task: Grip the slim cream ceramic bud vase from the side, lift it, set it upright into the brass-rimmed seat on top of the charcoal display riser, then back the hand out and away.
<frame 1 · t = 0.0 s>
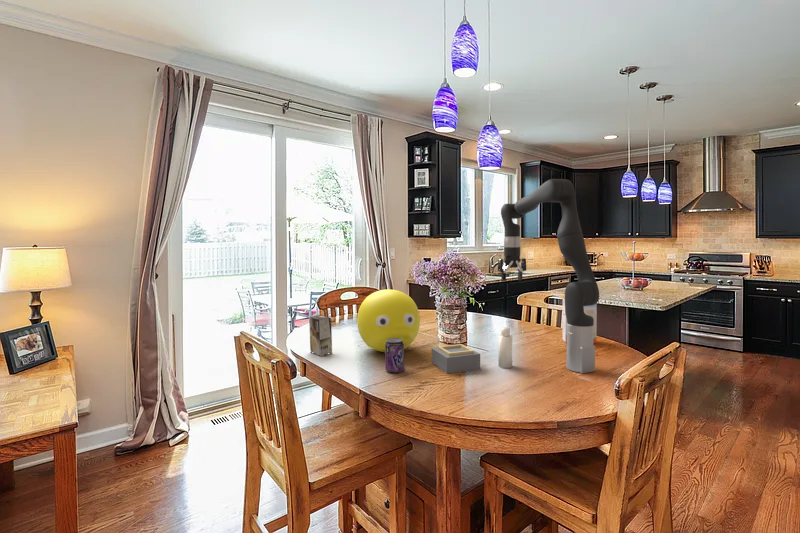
hand: (511, 280, 200), 29 cm above the table, tool pointing down, fingers open, 8 cm apart
cracker box: (578, 342, 199), on the table
head sculpture: (389, 351, 188), on the table
coffee box: (321, 353, 187), on the table
display riser: (455, 366, 166), on the table
beverage can: (394, 371, 161), on the table
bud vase: (505, 366, 165), on the table
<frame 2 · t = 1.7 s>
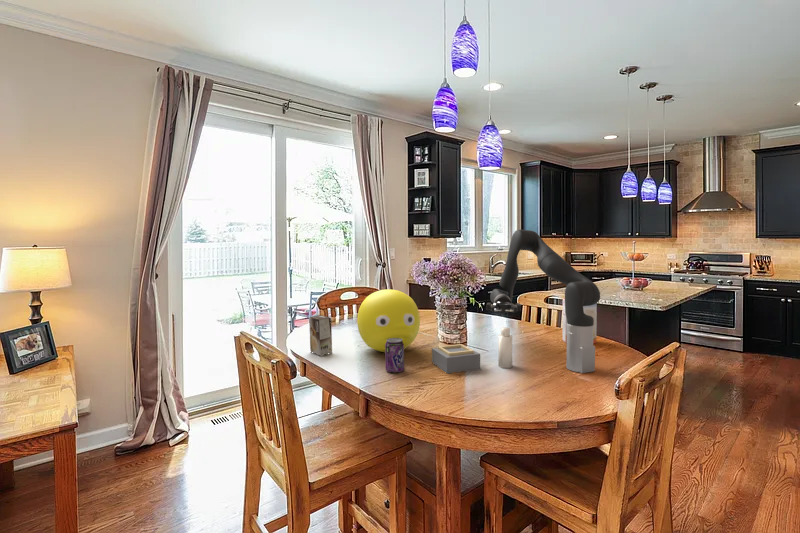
hand: (504, 310, 174), 20 cm above the table, tool horizontal, fingers open, 8 cm apart
nothing on the table moved.
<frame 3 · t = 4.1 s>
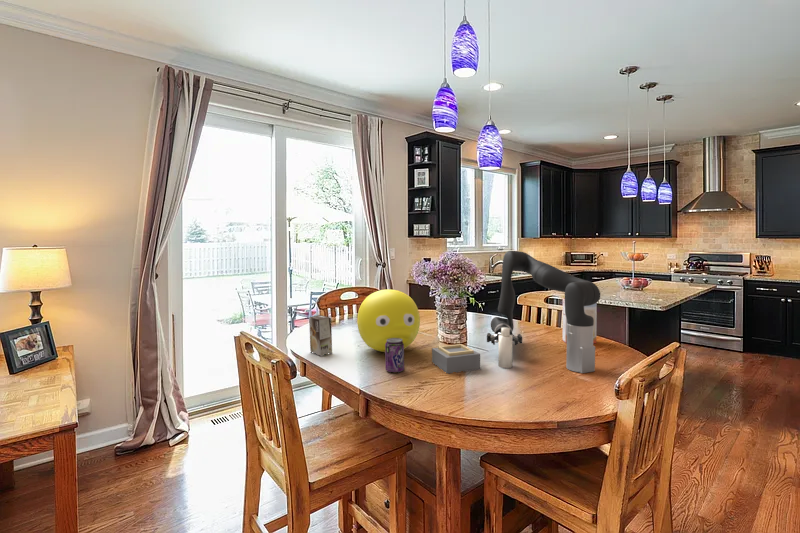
hand: (504, 342, 169), 8 cm above the table, tool horizontal, fingers open, 8 cm apart
nothing on the table moved.
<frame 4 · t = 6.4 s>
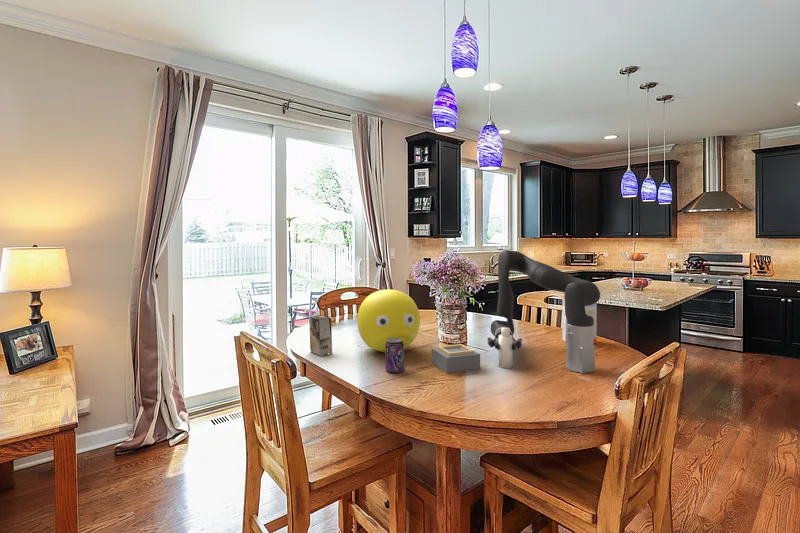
hand: (505, 347, 162), 8 cm above the table, tool horizontal, fingers closed on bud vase, 5 cm apart
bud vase: (505, 366, 165), on the table, touching gripper
everything else where it was.
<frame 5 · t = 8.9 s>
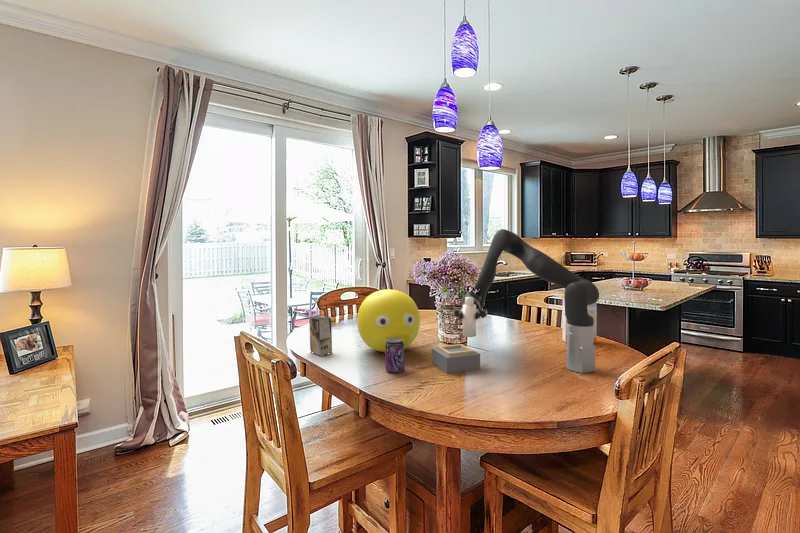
hand: (468, 316, 162), 20 cm above the table, tool horizontal, fingers closed on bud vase, 5 cm apart
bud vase: (469, 335, 165), point 12 cm above the table, touching gripper
everything else where it was.
when the fingers open (15 cm above the table, at t = 11.2 s): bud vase drops 1 cm, resting on display riser.
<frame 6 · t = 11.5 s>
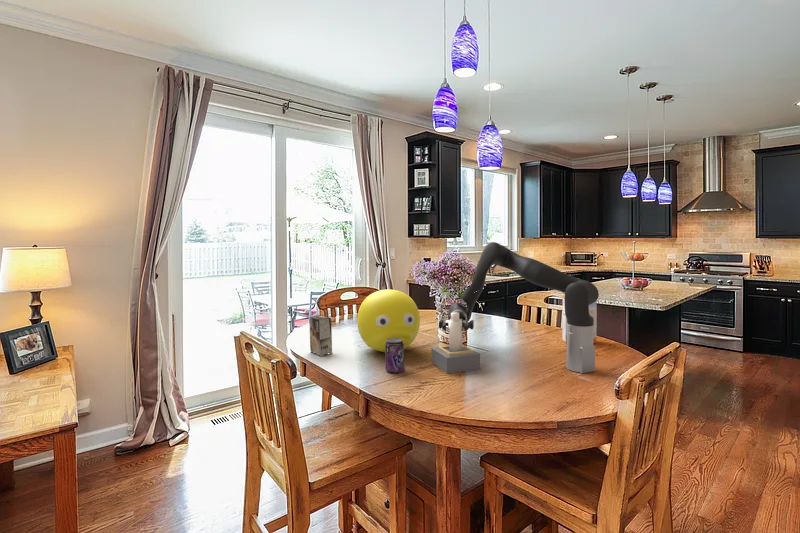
hand: (455, 328, 162), 15 cm above the table, tool horizontal, fingers open, 7 cm apart
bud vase: (455, 350, 165), point 6 cm above the table, touching display riser
everything else where it was.
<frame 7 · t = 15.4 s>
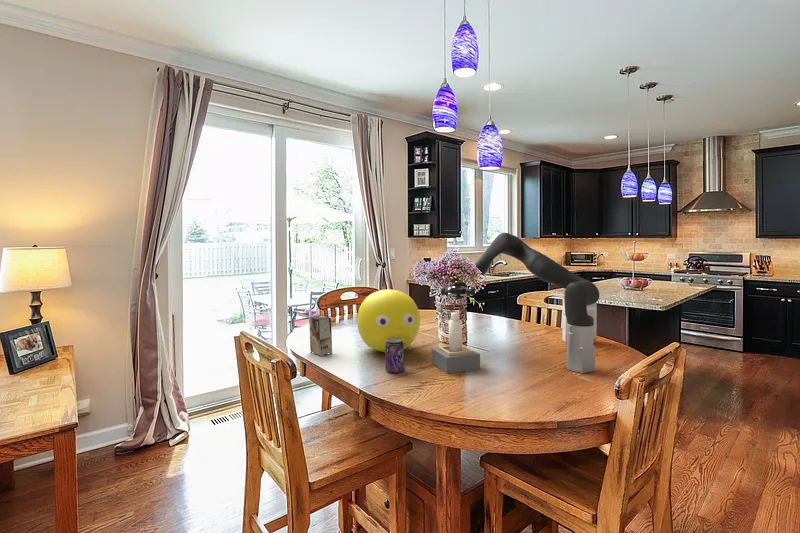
hand: (457, 293, 174), 27 cm above the table, tool horizontal, fingers open, 8 cm apart
nothing on the table moved.
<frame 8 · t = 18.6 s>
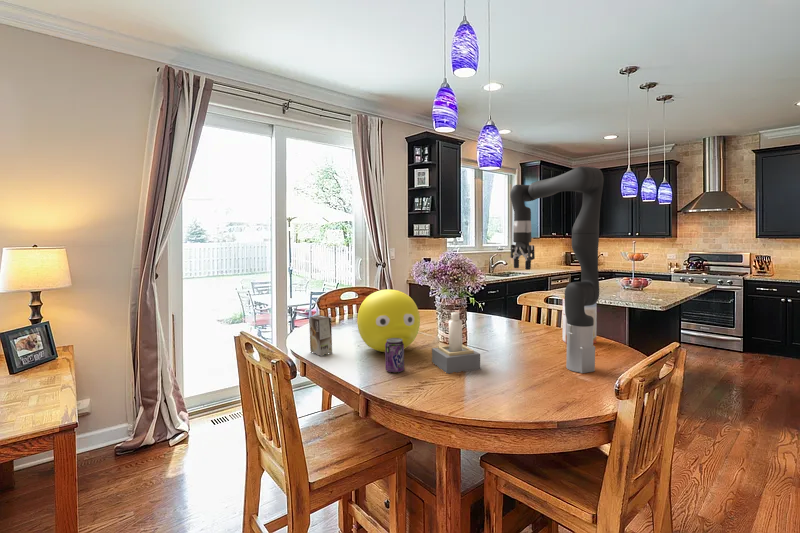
hand: (522, 268, 184), 36 cm above the table, tool pointing down, fingers open, 8 cm apart
nothing on the table moved.
at the end: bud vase 0.1 cm off-centre on the display riser, point 6.0 cm above the display riser's base; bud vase tilted 0°; the gripper is holding nothing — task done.
